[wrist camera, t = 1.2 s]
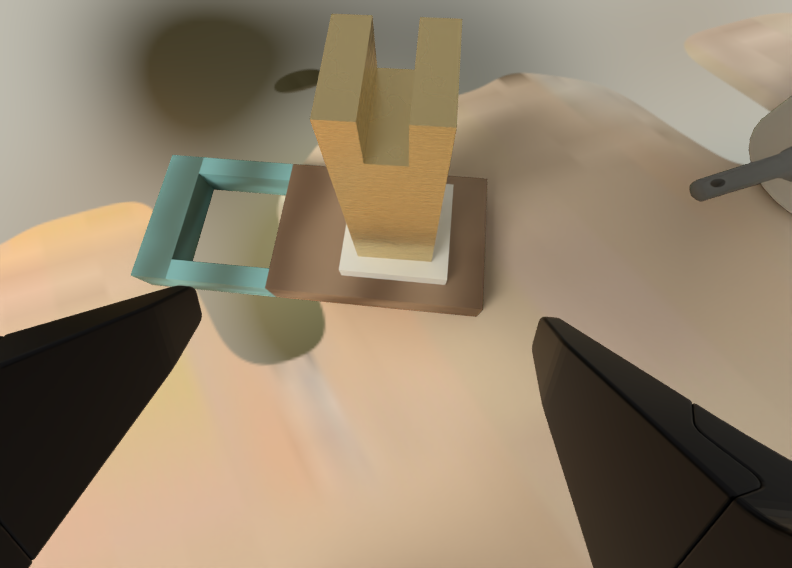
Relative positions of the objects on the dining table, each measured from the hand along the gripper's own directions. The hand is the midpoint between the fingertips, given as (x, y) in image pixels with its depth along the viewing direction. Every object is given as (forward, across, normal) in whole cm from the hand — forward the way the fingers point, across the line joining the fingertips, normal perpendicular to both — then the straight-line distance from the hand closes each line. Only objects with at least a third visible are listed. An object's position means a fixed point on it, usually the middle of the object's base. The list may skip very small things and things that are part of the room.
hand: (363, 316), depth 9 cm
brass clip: (+13, 0, +2) cm, 13 cm away
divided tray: (+15, +6, +4) cm, 17 cm away
